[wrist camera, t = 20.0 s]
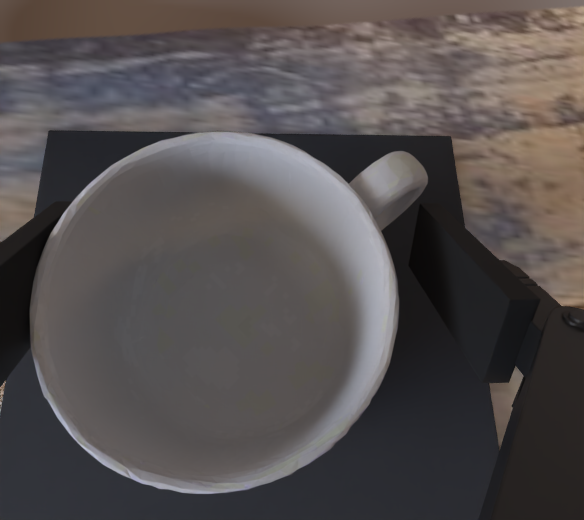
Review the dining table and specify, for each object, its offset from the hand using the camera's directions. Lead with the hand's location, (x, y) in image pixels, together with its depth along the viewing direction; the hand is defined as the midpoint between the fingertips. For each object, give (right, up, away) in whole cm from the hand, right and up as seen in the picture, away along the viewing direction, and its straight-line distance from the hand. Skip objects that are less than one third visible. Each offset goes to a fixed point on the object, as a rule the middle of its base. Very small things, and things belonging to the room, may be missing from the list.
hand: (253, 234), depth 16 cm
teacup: (0, -3, +4) cm, 5 cm away
